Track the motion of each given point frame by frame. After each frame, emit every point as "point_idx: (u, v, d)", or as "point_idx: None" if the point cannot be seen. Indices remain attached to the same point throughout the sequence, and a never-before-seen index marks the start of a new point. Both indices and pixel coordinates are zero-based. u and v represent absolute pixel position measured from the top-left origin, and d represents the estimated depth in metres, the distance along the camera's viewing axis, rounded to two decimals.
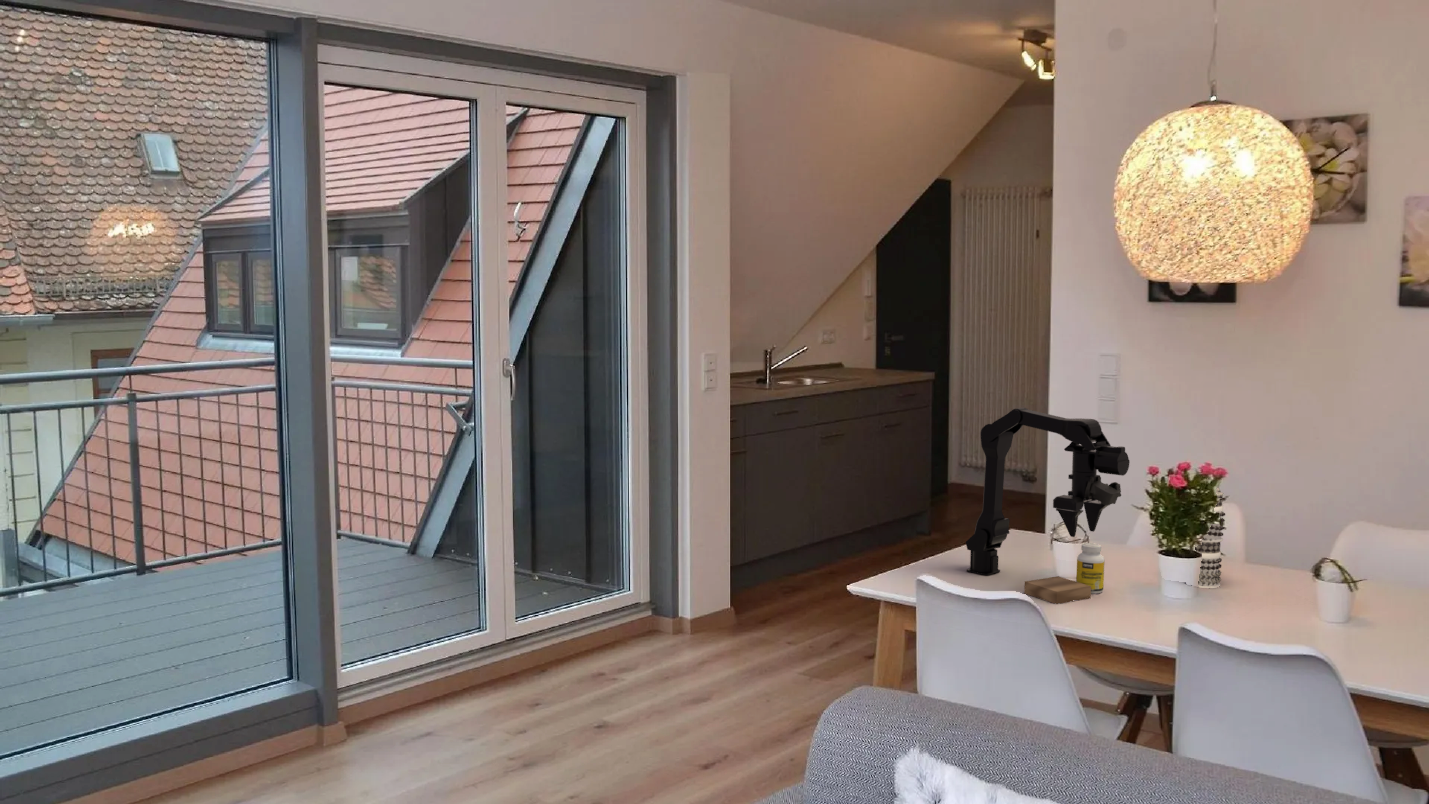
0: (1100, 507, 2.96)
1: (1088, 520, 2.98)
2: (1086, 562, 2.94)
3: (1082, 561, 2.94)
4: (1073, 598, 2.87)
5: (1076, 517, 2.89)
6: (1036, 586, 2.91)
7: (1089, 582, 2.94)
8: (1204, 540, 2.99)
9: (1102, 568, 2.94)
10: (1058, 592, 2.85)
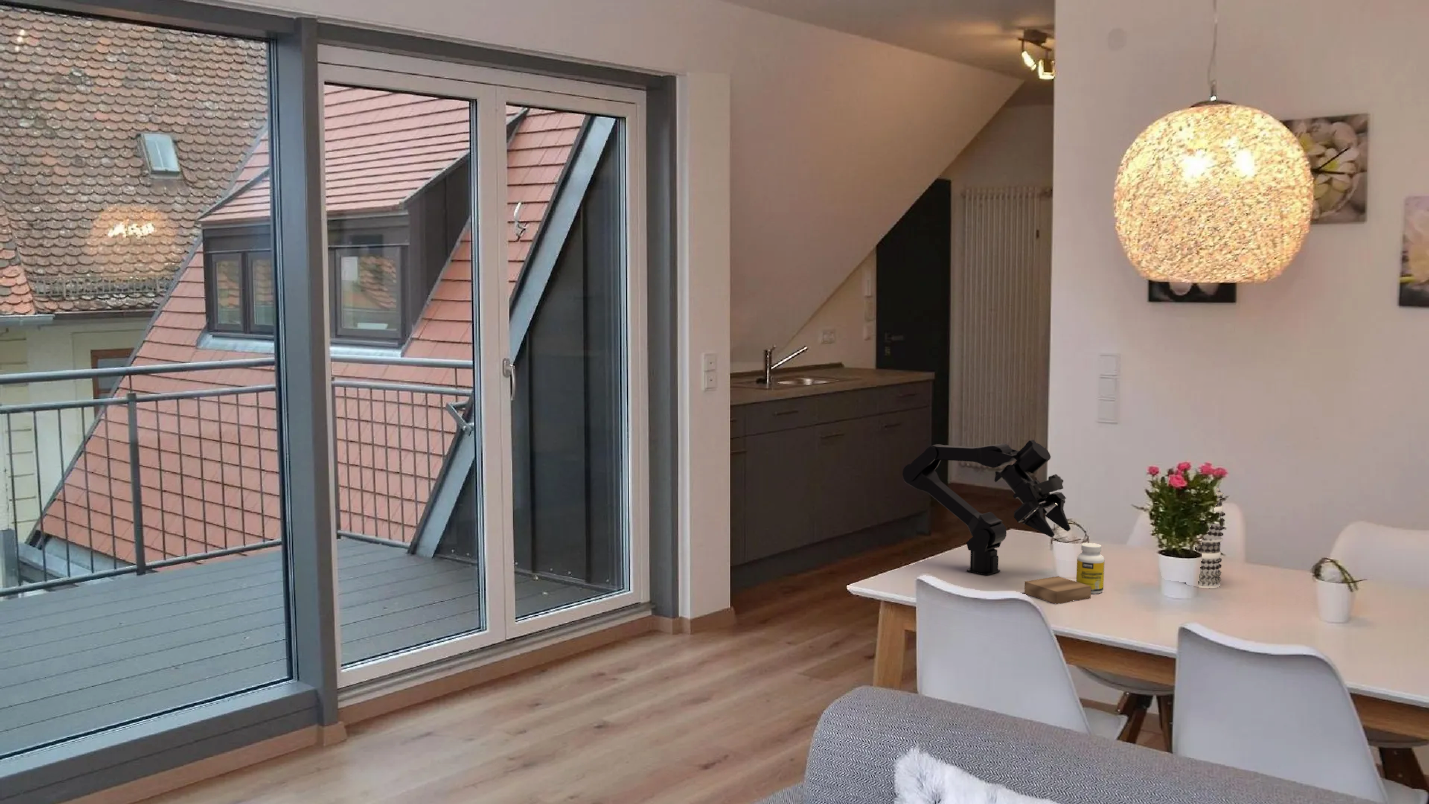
0: (1059, 506, 3.06)
1: (1059, 524, 3.06)
2: (1086, 562, 2.94)
3: (1082, 561, 2.94)
4: (1073, 598, 2.87)
5: (1042, 517, 2.98)
6: (1036, 586, 2.91)
7: (1089, 582, 2.94)
8: (1204, 540, 2.99)
9: (1102, 568, 2.94)
10: (1058, 592, 2.85)
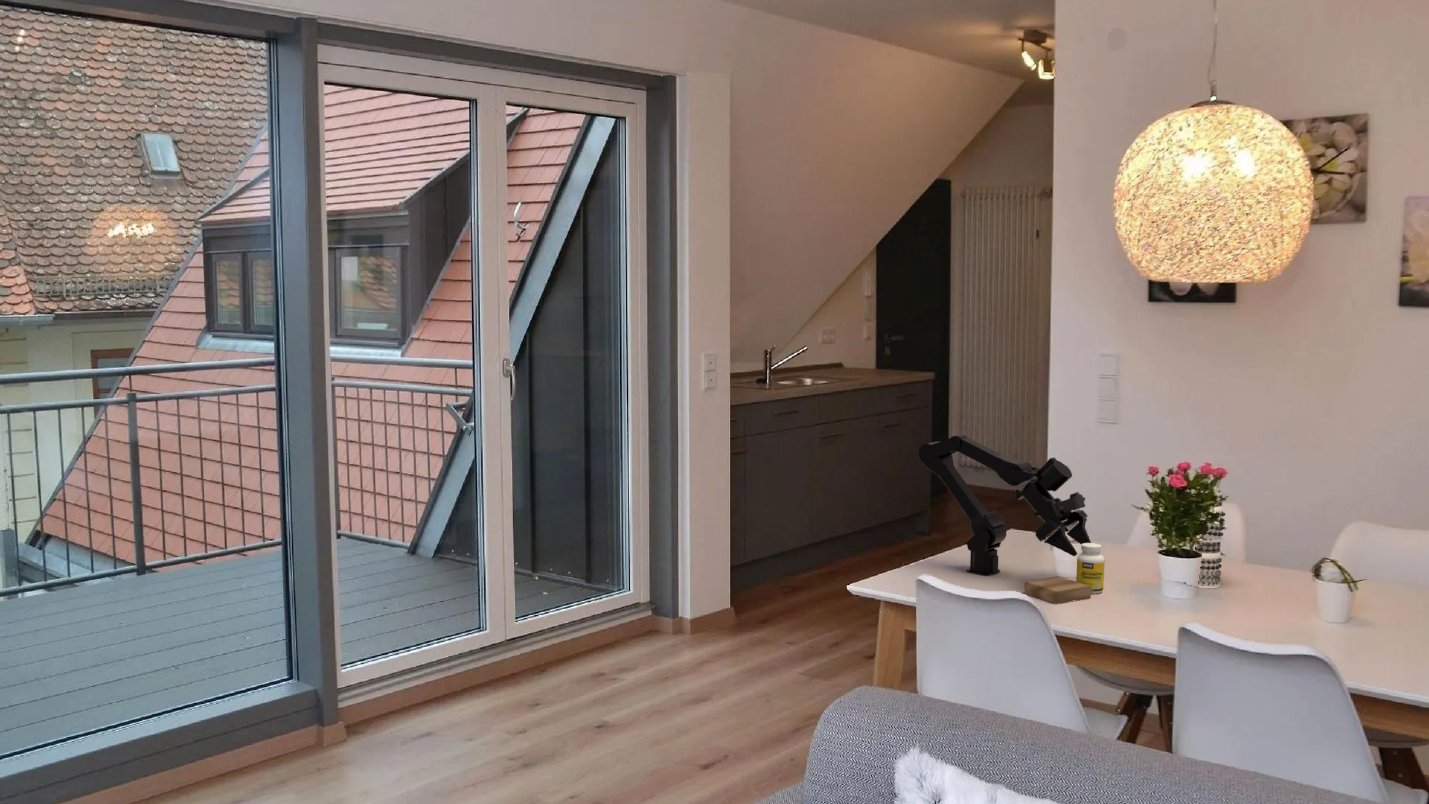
0: (1081, 524, 3.03)
1: (1081, 543, 3.02)
2: (1086, 562, 2.94)
3: (1082, 561, 2.94)
4: (1073, 598, 2.87)
5: (1064, 535, 2.94)
6: (1036, 586, 2.91)
7: (1089, 582, 2.94)
8: (1204, 540, 2.99)
9: (1102, 568, 2.94)
10: (1058, 592, 2.85)
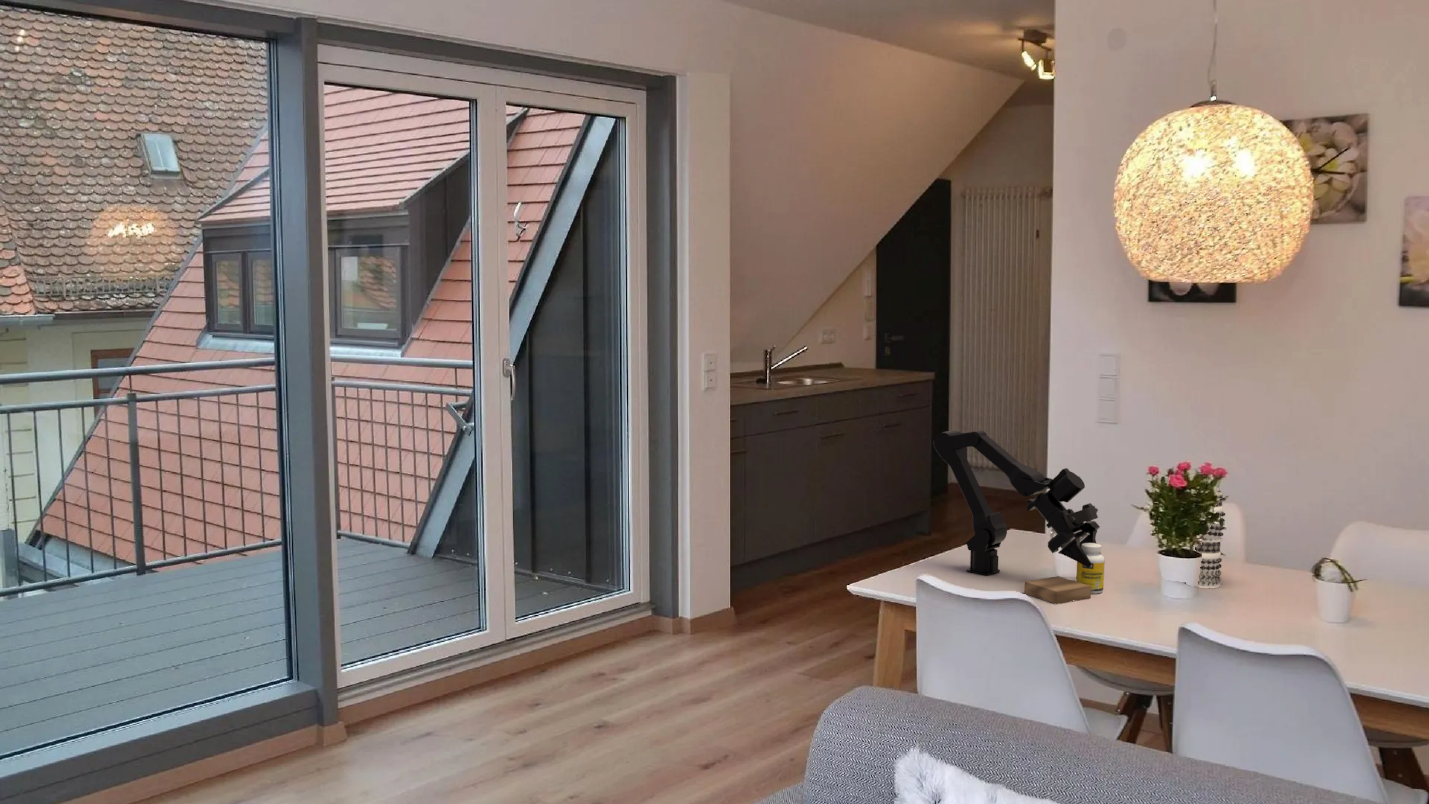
0: (1091, 536, 3.00)
1: None
2: None
3: None
4: (1073, 598, 2.87)
5: (1079, 546, 2.93)
6: (1036, 586, 2.91)
7: (1089, 582, 2.94)
8: (1204, 540, 2.99)
9: (1102, 568, 2.94)
10: (1058, 592, 2.85)
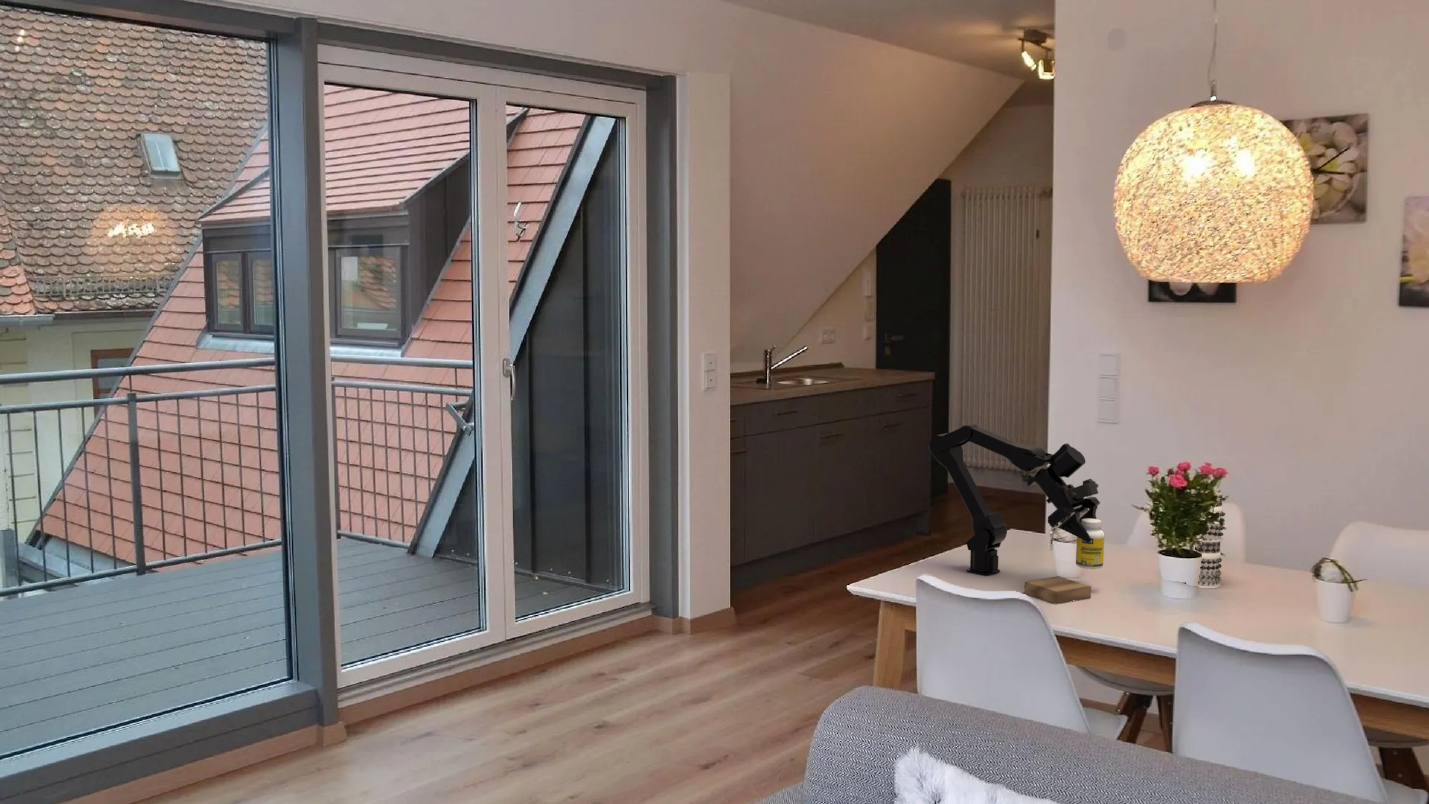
0: (1091, 512, 2.99)
1: None
2: None
3: None
4: (1073, 598, 2.87)
5: (1079, 521, 2.92)
6: (1036, 586, 2.91)
7: (1089, 558, 2.93)
8: (1204, 540, 2.99)
9: (1102, 543, 2.93)
10: (1058, 592, 2.85)
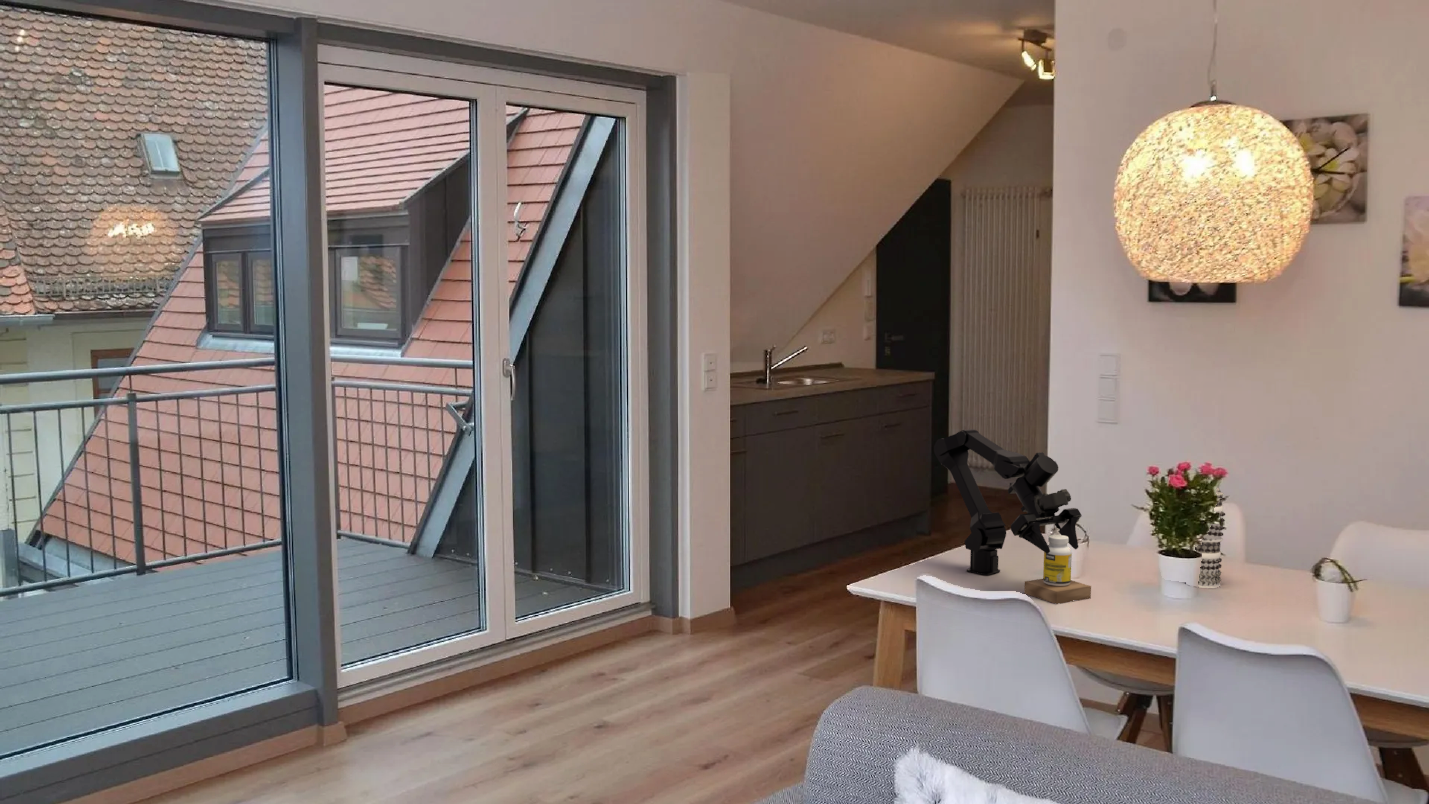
0: (1069, 523, 2.94)
1: (1069, 542, 2.94)
2: (1049, 553, 2.90)
3: None
4: (1073, 598, 2.87)
5: (1038, 531, 2.89)
6: (1036, 586, 2.91)
7: (1051, 574, 2.90)
8: (1204, 540, 2.99)
9: (1066, 561, 2.89)
10: (1058, 592, 2.85)
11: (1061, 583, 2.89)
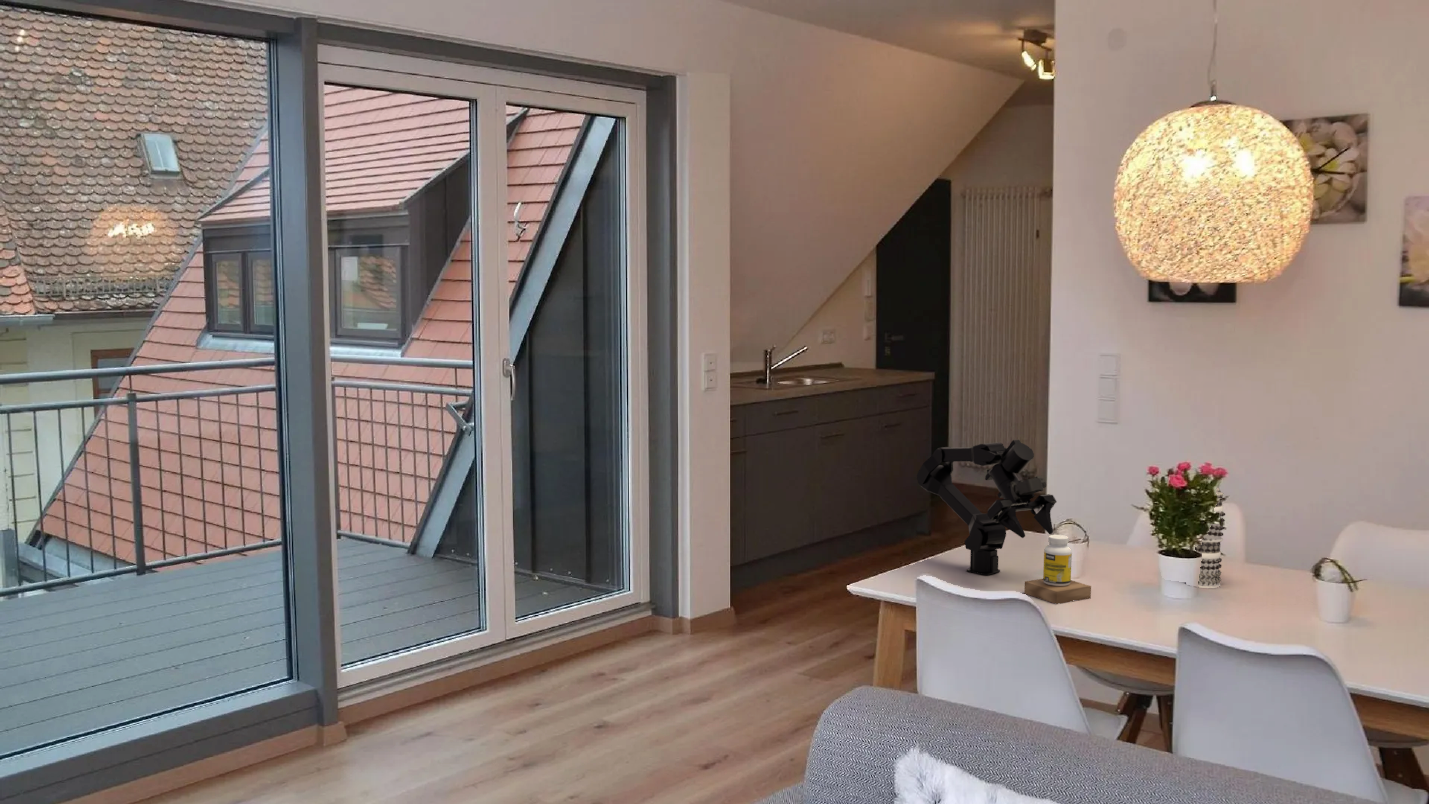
0: (1044, 509, 3.02)
1: (1044, 527, 3.02)
2: (1049, 553, 2.90)
3: (1046, 552, 2.91)
4: (1073, 598, 2.87)
5: (1014, 516, 2.97)
6: (1036, 586, 2.91)
7: (1051, 574, 2.90)
8: (1204, 540, 2.99)
9: (1066, 561, 2.89)
10: (1058, 592, 2.85)
11: (1061, 583, 2.89)
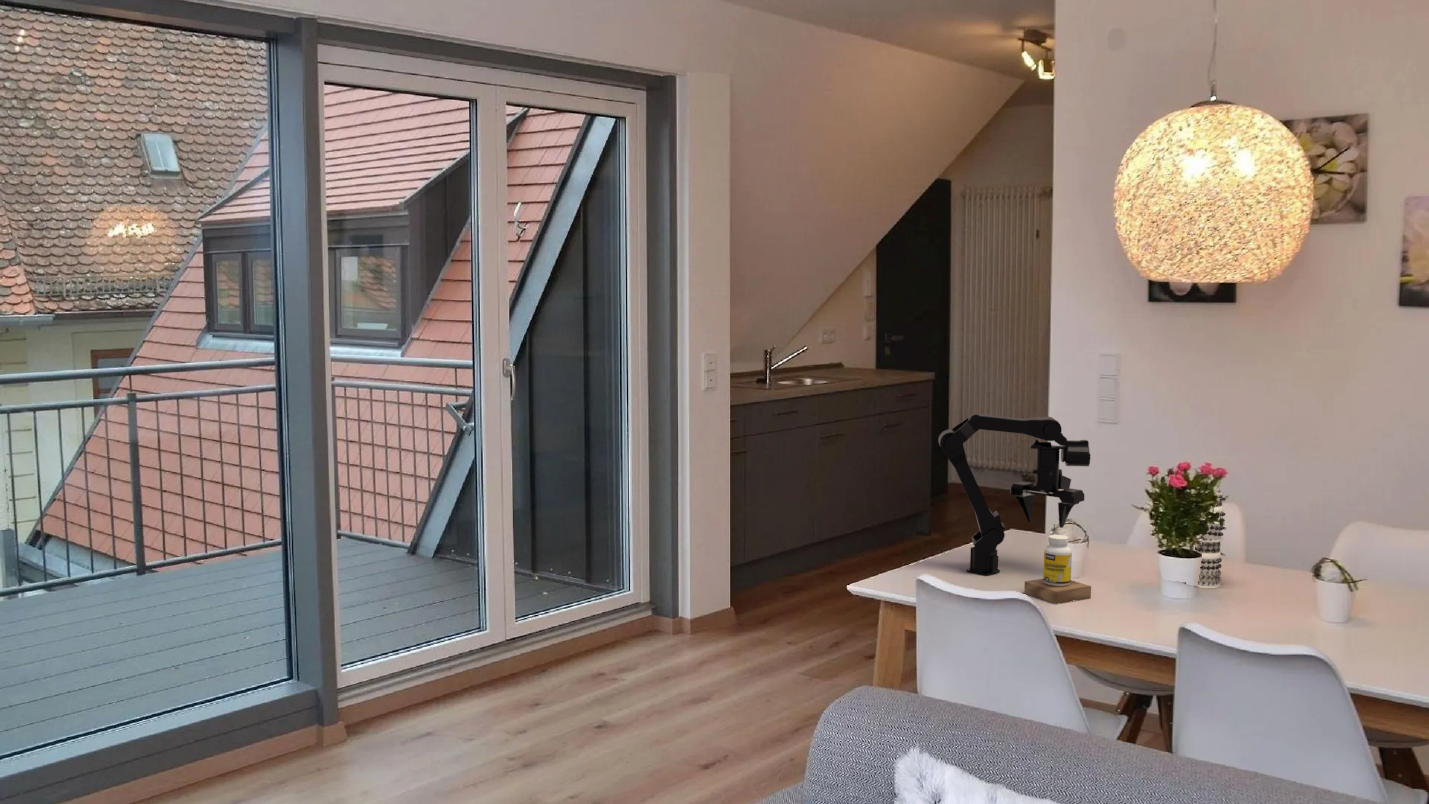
0: (1033, 498, 3.17)
1: (1028, 513, 3.15)
2: (1049, 553, 2.90)
3: (1046, 552, 2.91)
4: (1073, 598, 2.87)
5: None
6: (1036, 586, 2.91)
7: (1051, 574, 2.90)
8: (1204, 540, 2.99)
9: (1066, 561, 2.89)
10: (1058, 592, 2.85)
11: (1061, 583, 2.89)
